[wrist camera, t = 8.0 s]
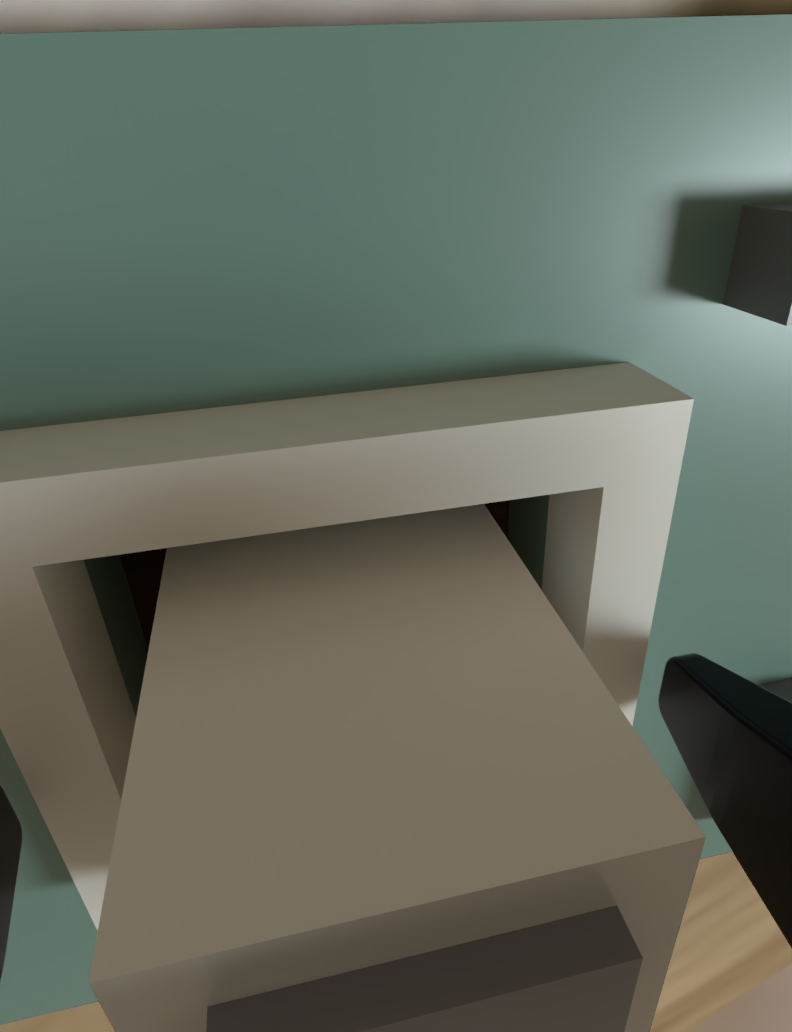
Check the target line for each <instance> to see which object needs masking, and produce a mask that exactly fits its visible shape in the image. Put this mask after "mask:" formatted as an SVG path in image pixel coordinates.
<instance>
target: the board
mask: <svg viewBox="0 0 792 1032" xmlns="http://www.w3.org/2000/svg"><path fill="white" fill-rule="evenodd" d="M507 500H509V513H508V534H507V539H508V541H509V542H510V544H511V545H512V547H513V548H514V550H515V551H516V553H517V554H518V556H519V557H520V559H521V560H522V562H523V563H524V565H525V566H526V568H527V569H528V571H529V572H530V574H531V575H532V577H533V578H534V580H535V581H536V583H537V584H538V586H539V587H540V589H541V590H542V592H543V593H544V595H545V596H546V598H547V599H548V601H549V602H550V604H551V605H552V607H553V608H554V610H555V611H556V613H557V614H558V616H559V617H560V619H561V620H562V622H563V623H564V625H565V626H566V628H567V629H568V631H569V632H570V634H571V635H572V637H573V638H574V640H575V641H576V643H577V644H578V646H579V647H580V649H581V650H582V652H583V653H584V655H585V656H586V658H587V659H588V661H589V662H590V664H591V665H592V667H593V668H594V670H595V671H596V673H597V674H598V676H599V677H600V679H601V680H602V682H603V683H604V685H605V686H606V688H607V689H608V691H609V692H610V694H611V695H612V697H613V698H614V700H615V701H616V703H617V704H618V706H619V707H620V709H621V710H622V712H623V713H624V715H625V716H626V718H627V719H628V721H629V722H630V724H631V725H632V727H633V728H634V730H635V731H636V733H637V734H638V736H639V737H640V739H641V740H642V742H643V743H644V745H645V746H646V748H647V749H648V751H649V752H650V754H651V755H652V757H653V758H654V760H655V761H656V763H657V764H658V766H659V767H660V769H661V770H662V772H663V773H664V775H665V776H666V778H667V779H668V781H669V782H670V784H671V785H672V787H673V788H674V790H675V791H676V793H677V794H678V796H679V797H680V799H681V800H682V802H683V803H684V805H685V806H686V808H687V809H688V811H689V812H690V814H691V815H692V817H693V818H694V820H695V821H696V823H697V824H698V826H699V827H700V829H701V830H702V832H703V833H704V835H705V836H706V839H705V842H704V846H703V849H702V853H701V856H700V859H704V858H708V857H712V856H716V855H720V854H725V853H729V852H732V850H731V848H730V847H729V845H728V843H727V842H726V840H725V838H724V837H723V835H722V834H721V832H720V830H719V829H718V827H717V825H716V824H715V822H714V820H713V818H712V817H711V815H710V813H709V811H708V810H707V808H706V806H705V804H704V802H703V800H702V798H701V796H700V794H699V792H698V790H697V788H696V786H695V784H694V782H693V780H692V777H691V775H690V773H689V771H688V769H687V767H686V765H685V763H684V761H683V759H682V757H681V755H680V753H679V751H678V749H677V746H676V744H675V742H674V740H673V738H672V736H671V734H670V732H669V730H668V728H667V726H666V724H665V722H664V720H663V718H662V715H661V713H660V709H659V704H658V697H659V692H660V687H661V682H662V678H663V673H664V668H665V664H666V662H667V661H668V659H669V658H671V657H674V656H679V655H685V654H690V653H696V654H700V655H702V656H704V657H706V658H708V659H710V660H712V661H713V662H715V663H717V664H719V665H721V666H723V667H725V668H727V669H729V670H731V671H733V672H734V673H736V674H738V675H740V676H742V677H744V678H746V679H748V680H750V681H752V682H753V683H755V684H757V685H759V686H761V687H763V688H765V689H767V690H769V691H771V692H772V693H774V694H776V695H778V696H780V697H782V698H784V699H786V700H788V701H790V702H792V14H785V15H744V16H704V17H663V18H623V19H582V20H542V21H501V22H461V23H420V24H380V25H339V26H299V27H258V28H218V29H177V30H137V31H96V32H56V33H15V34H0V785H1V787H2V788H3V790H4V792H5V794H6V796H7V798H8V799H9V801H10V803H11V805H12V807H13V809H14V811H15V813H16V815H17V817H18V819H19V821H20V824H21V828H22V845H21V852H20V859H19V866H18V873H17V880H16V887H15V894H14V901H13V908H12V915H11V922H10V928H9V935H8V942H7V949H6V955H5V961H4V967H3V972H2V977H1V981H0V1025H1V1024H6V1023H10V1022H14V1021H18V1020H22V1019H27V1018H31V1017H35V1016H39V1015H44V1014H48V1013H52V1012H56V1011H61V1010H65V1009H69V1008H73V1007H77V1006H82V1005H86V1004H90V1003H94V1002H99V1001H98V999H97V998H96V996H95V994H94V992H93V990H92V989H91V987H90V985H89V983H88V982H89V976H90V971H91V965H92V960H93V954H94V949H95V943H96V938H97V932H98V926H99V921H100V915H101V910H102V904H103V899H104V893H105V888H106V882H107V877H108V871H109V866H110V860H111V854H112V849H113V843H114V838H115V832H116V827H117V821H118V816H119V810H120V805H121V799H122V794H123V788H124V783H125V777H126V771H127V766H128V760H129V755H130V749H131V744H132V738H133V733H134V727H135V722H136V716H137V711H138V705H139V699H140V694H141V688H142V683H143V677H144V672H145V666H146V661H147V655H148V647H147V644H146V640H145V637H144V634H143V630H142V627H141V624H140V620H139V617H138V614H137V610H136V607H135V604H134V600H133V597H132V594H131V590H130V587H129V583H128V580H127V577H126V573H125V570H124V567H123V563H122V560H121V557H120V554H127V553H134V552H141V551H149V550H156V549H163V548H170V547H177V546H184V545H192V544H199V543H206V542H213V541H220V540H227V539H235V538H242V537H249V536H256V535H263V534H270V533H278V532H285V531H292V530H299V529H306V528H314V527H321V526H328V525H335V524H342V523H349V522H357V521H364V520H371V519H378V518H385V517H392V516H400V515H407V514H414V513H421V512H428V511H435V510H443V509H450V508H457V507H464V506H471V505H478V504H486V503H493V502H500V501H507Z"/></svg>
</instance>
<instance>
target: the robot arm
mask: <svg viewBox="0 0 792 1032" xmlns="http://www.w3.org/2000/svg"><path fill="white" fill-rule="evenodd" d="M658 704H659V709H660V713H661V715H662V718H663V720H664V722H665V724H666V726H667V728H668V730H669V732H670V734H671V736H672V738H673V740H674V742H675V744H676V746H677V749H678V751H679V753H680V755H681V757H682V759H683V761H684V763H685V765H686V767H687V769H688V771H689V773H690V775H691V777H692V780H693V782H694V784H695V786H696V788H697V790H698V792H699V794H700V796H701V798H702V800H703V802H704V804H705V806H706V808H707V810H708V811H709V813H710V815H711V817H712V818H713V820H714V822H715V824H716V825H717V827H718V829H719V830H720V832H721V834H722V835H723V837H724V838H725V840H726V842H727V843H728V845H729V847H730V848H731V850H732V852H733V853H734V855H735V856H736V858H737V860H738V861H739V863H740V865H741V866H742V868H743V869H744V871H745V873H746V874H747V876H748V878H749V879H750V881H751V883H752V884H753V886H754V887H755V889H756V891H757V892H758V894H759V896H760V897H761V899H762V900H763V902H764V904H765V905H766V907H767V909H768V910H769V912H770V914H771V915H772V917H773V918H774V920H775V922H776V923H777V925H778V927H779V928H780V930H781V931H782V933H783V935H784V936H785V938H786V940H787V941H788V943H789V944H790V946H791V948H792V702H790V701H788V700H786V699H784V698H782V697H780V696H778V695H776V694H774V693H772V692H771V691H769V690H767V689H765V688H763V687H761V686H759V685H757V684H755V683H753V682H752V681H750V680H748V679H746V678H744V677H742V676H740V675H738V674H736V673H734V672H733V671H731V670H729V669H727V668H725V667H723V666H721V665H719V664H717V663H715V662H713V661H712V660H710V659H708V658H706V657H704V656H702V655H700V654H696V653H690V654H685V655H679V656H674V657H671V658H669V659H668V661H667V662H666V664H665V668H664V673H663V678H662V682H661V687H660V692H659V697H658ZM21 845H22V828H21V824H20V821H19V819H18V817H17V815H16V813H15V811H14V809H13V807H12V805H11V803H10V801H9V799H8V798H7V796H6V794H5V792H4V790H3V788H2V787H1V785H0V981H1V977H2V972H3V967H4V961H5V955H6V949H7V942H8V935H9V928H10V922H11V915H12V908H13V901H14V894H15V887H16V880H17V873H18V866H19V859H20V852H21Z"/></svg>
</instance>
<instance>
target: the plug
mask: <svg viewBox="0 0 792 1032" xmlns="http://www.w3.org/2000/svg"><path fill="white" fill-rule="evenodd" d="M705 839H706V836H705V835H704V833H703V832H702V830H701V829H700V827H699V826H698V824H697V823H696V821H695V820H694V818H693V817H692V815H691V814H690V812H689V811H688V809H687V808H686V806H685V805H684V803H683V802H682V800H681V799H680V797H679V796H678V794H677V793H676V791H675V790H674V788H673V787H672V785H671V784H670V782H669V781H668V779H667V778H666V776H665V775H664V773H663V772H662V770H661V769H660V767H659V766H658V764H657V763H656V761H655V760H654V758H653V757H652V755H651V754H650V752H649V751H648V749H647V748H646V746H645V745H644V743H643V742H642V740H641V739H640V737H639V736H638V734H637V733H636V731H635V730H634V728H633V727H632V725H631V724H630V722H629V721H628V719H627V718H626V716H625V715H624V713H623V712H622V710H621V709H620V707H619V706H618V704H617V703H616V701H615V700H614V698H613V697H612V695H611V694H610V692H609V691H608V689H607V688H606V686H605V685H604V683H603V682H602V680H601V679H600V677H599V676H598V674H597V673H596V671H595V670H594V668H593V667H592V665H591V664H590V662H589V661H588V659H587V658H586V656H585V655H584V653H583V652H582V650H581V649H580V647H579V646H578V644H577V643H576V641H575V640H574V638H573V637H572V635H571V634H570V632H569V631H568V629H567V628H566V626H565V625H564V623H563V622H562V620H561V619H560V617H559V616H558V614H557V613H556V611H555V610H554V608H553V607H552V605H551V604H550V602H549V601H548V599H547V598H546V596H545V595H544V593H543V592H542V590H541V589H540V587H539V586H538V584H537V583H536V581H535V580H534V578H533V577H532V575H531V574H530V572H529V571H528V569H527V568H526V566H525V565H524V563H523V562H522V560H521V559H520V557H519V556H518V554H517V553H516V551H515V550H514V548H513V547H512V545H511V544H510V542H509V541H508V539H507V538H506V536H505V535H504V533H503V532H502V530H501V529H500V527H499V526H498V524H497V523H496V521H495V520H494V518H493V517H492V515H491V514H490V512H489V511H488V509H487V508H486V506H485V505H484V504H478V505H471V506H464V507H457V508H450V509H443V510H435V511H428V512H421V513H414V514H407V515H400V516H392V517H385V518H378V519H371V520H364V521H357V522H349V523H342V524H335V525H328V526H321V527H314V528H306V529H299V530H292V531H285V532H278V533H270V534H263V535H256V536H249V537H242V538H235V539H227V540H220V541H213V542H206V543H199V544H192V545H184V546H177V547H170V548H167V550H166V555H165V561H164V567H163V572H162V578H161V583H160V589H159V594H158V600H157V605H156V611H155V616H154V622H153V627H152V633H151V639H150V644H149V650H148V655H147V661H146V666H145V672H144V677H143V683H142V688H141V694H140V699H139V705H138V711H137V716H136V722H135V727H134V733H133V738H132V744H131V749H130V755H129V760H128V766H127V771H126V777H125V783H124V788H123V794H122V799H121V805H120V810H119V816H118V821H117V827H116V832H115V838H114V843H113V849H112V854H111V860H110V866H109V871H108V877H107V882H106V888H105V893H104V899H103V904H102V910H101V915H100V921H99V926H98V932H97V938H96V943H95V949H94V954H93V960H92V965H91V971H90V976H89V982H88V983H89V985H90V987H91V989H92V990H93V992H94V994H95V996H96V998H97V999H98V1001H99V1003H100V1005H101V1007H102V1008H103V1010H104V1012H105V1014H106V1016H107V1017H108V1019H109V1021H110V1023H111V1025H112V1026H113V1028H114V1030H115V1032H649V1031H650V1028H651V1025H652V1021H653V1018H654V1014H655V1011H656V1007H657V1004H658V1000H659V997H660V994H661V990H662V987H663V983H664V980H665V976H666V973H667V970H668V966H669V963H670V959H671V956H672V952H673V949H674V945H675V942H676V939H677V935H678V932H679V928H680V925H681V921H682V918H683V915H684V911H685V908H686V904H687V901H688V897H689V894H690V890H691V887H692V884H693V880H694V877H695V873H696V870H697V866H698V863H699V859H700V856H701V853H702V849H703V846H704V842H705Z"/></svg>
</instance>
